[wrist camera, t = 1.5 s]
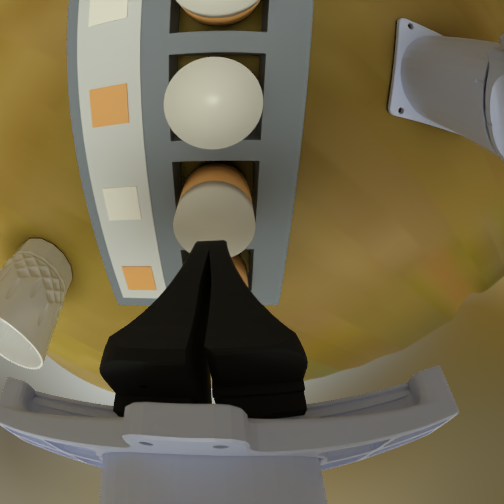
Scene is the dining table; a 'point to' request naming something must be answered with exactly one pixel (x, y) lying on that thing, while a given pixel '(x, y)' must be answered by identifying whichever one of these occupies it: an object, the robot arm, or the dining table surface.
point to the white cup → (31, 301)
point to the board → (169, 144)
